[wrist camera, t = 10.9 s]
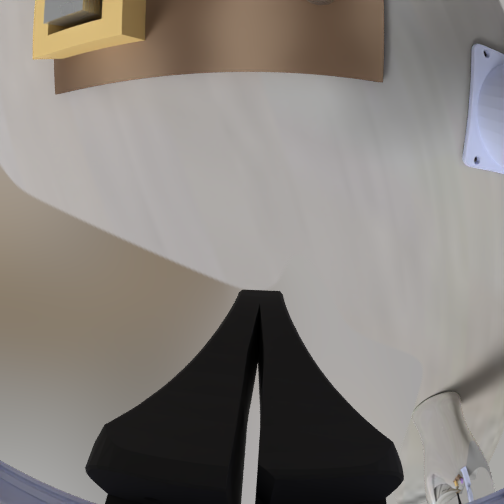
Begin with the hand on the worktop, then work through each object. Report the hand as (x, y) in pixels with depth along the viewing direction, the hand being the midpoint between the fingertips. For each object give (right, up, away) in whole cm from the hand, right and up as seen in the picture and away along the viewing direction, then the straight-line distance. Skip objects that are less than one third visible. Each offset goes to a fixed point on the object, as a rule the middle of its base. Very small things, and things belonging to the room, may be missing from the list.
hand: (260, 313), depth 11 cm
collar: (-9, +16, +2) cm, 18 cm away
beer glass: (+20, -15, +18) cm, 31 cm away
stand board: (-3, +16, +2) cm, 16 cm away
